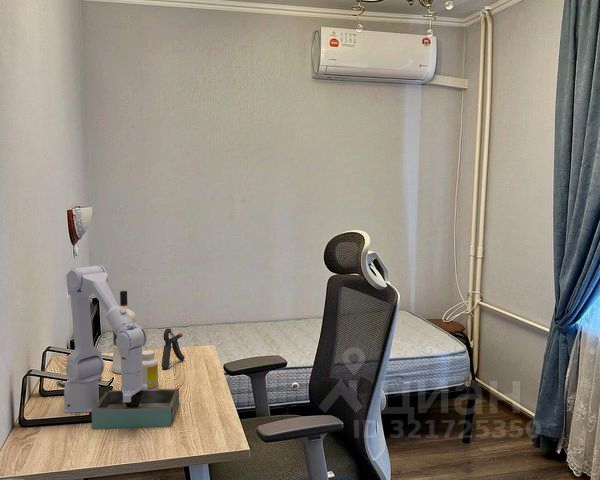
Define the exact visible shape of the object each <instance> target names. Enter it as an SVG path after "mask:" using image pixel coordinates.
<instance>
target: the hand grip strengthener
mask: <svg viewBox="0 0 600 480" xmlns="http://www.w3.org/2000/svg"><path fill="white" fill-rule="evenodd" d="M169 336H171V338H170V337H169ZM182 337H183V333H182V332H179V333H178V334H176V335H175V334H174V333H173V331H172V328H169V327H167V328H166V329H165V330H164V331H163V341H164V346H163V350H162V358H161V367H162V370H165V371H167V370H169V368H170V360H171V353H172V350H173V352H174V355H175V357H176V358H177V359H178V360H179V361H181V362H184V360H185V356H184V354H183V352H182V351H181V349H180V344H179V341H178V340H179V339H180V338H182Z"/></svg>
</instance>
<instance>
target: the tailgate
mask: <svg viewBox="0 0 600 480" xmlns="http://www.w3.org/2000/svg"><path fill="white" fill-rule="evenodd" d="M90 413H91V427H92V428H91V429H92V430H93V429H94V430H95V429H96V430H97V429H98V430H99V429H123V428H124V429H125V428H127V429H130V428H157V427H161V428H162V427H163V428H164V427H172V424H171V406H150V407H117V408H92V410H91V412H90Z"/></svg>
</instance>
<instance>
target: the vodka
mask: <svg viewBox="0 0 600 480" xmlns="http://www.w3.org/2000/svg"><path fill="white" fill-rule="evenodd" d="M119 302H120V303H119V304H120V305H119V306H121V307H124V308H125V309H126V311H127V313H128V314H129V316H130V317H131V319H132V321H133V322H134V324H137V315H136V313H135V312H134V311H133V310H131V309H129V306H128V291H127V290H120V291H119ZM112 338H113V339H112V341H113V342H112V350H113V353H112V354H113V355H112V365H111V370H112V372H113V373H114V374H118V375H121V356H120V355H119V349H118V347H117V345H116V339H117V336H116V334H115V332H114V331H113V330H112Z"/></svg>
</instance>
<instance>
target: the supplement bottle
mask: <svg viewBox="0 0 600 480" xmlns="http://www.w3.org/2000/svg"><path fill="white" fill-rule="evenodd" d="M142 370H143V384H147V388H146V389H142V390H149V389H159V362H158V359H157V358H155V351H154V350H151V349H149V350H142Z"/></svg>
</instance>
